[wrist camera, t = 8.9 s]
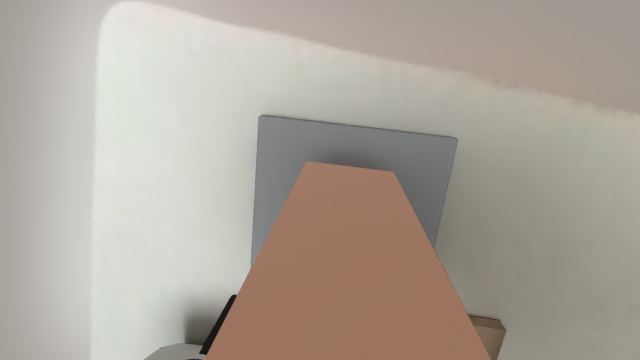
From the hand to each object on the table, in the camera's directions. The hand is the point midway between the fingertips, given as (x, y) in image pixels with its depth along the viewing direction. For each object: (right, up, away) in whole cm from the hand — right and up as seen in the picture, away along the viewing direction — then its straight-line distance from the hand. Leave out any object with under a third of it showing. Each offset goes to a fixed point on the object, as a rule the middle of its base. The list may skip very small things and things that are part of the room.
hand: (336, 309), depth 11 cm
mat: (+1, +3, +10) cm, 11 cm away
